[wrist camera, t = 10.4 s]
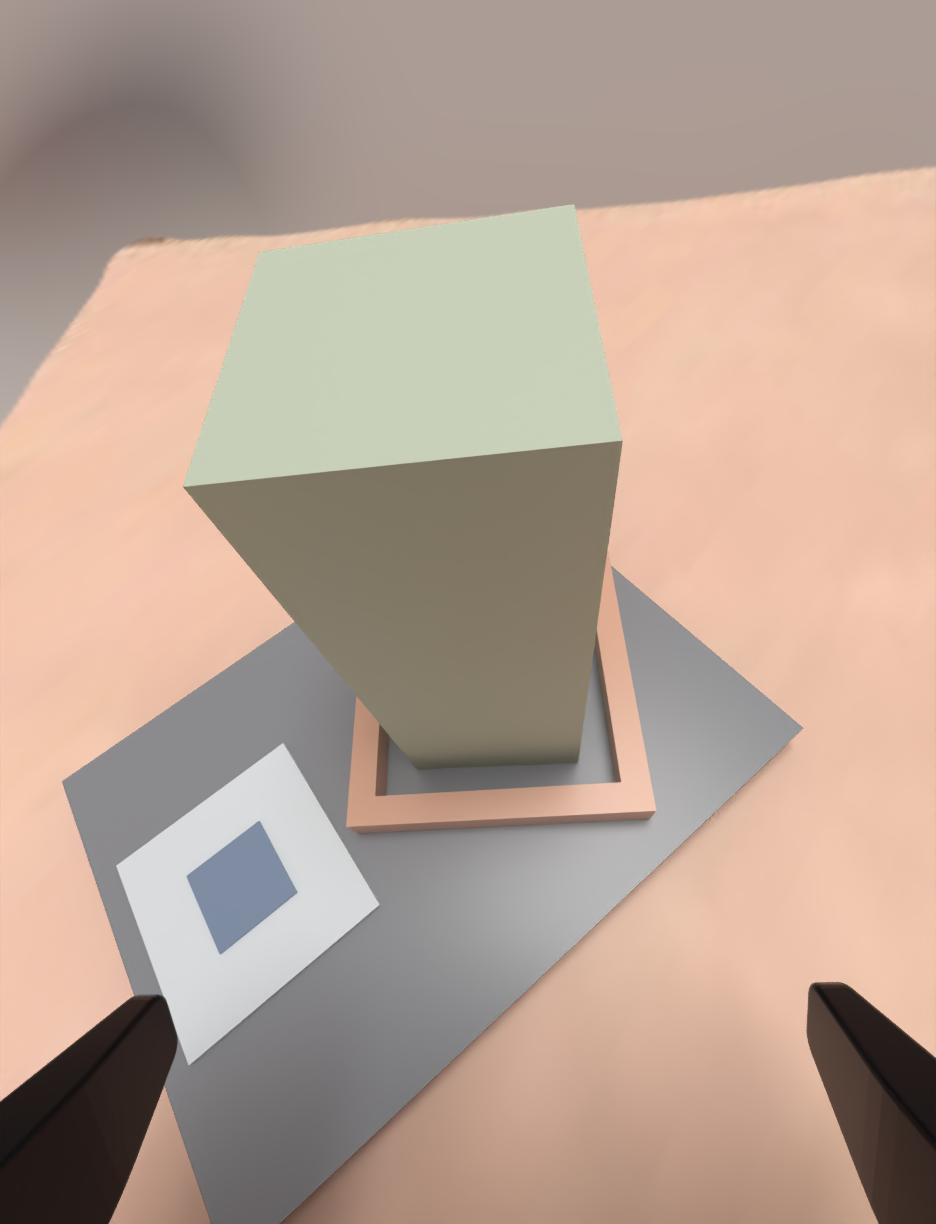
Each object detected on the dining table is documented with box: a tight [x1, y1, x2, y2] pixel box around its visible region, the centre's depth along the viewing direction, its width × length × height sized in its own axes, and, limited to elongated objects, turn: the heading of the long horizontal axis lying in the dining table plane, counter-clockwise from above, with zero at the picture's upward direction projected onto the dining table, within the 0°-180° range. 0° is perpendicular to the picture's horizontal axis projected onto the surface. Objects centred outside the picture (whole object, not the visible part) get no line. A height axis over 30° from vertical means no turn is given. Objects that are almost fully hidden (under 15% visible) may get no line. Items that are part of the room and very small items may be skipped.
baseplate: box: [62, 566, 803, 1224], centre depth 18 cm, size 20×14×2 cm
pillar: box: [183, 204, 623, 770], centre depth 13 cm, size 5×5×13 cm
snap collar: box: [346, 551, 656, 833], centre depth 18 cm, size 9×9×1 cm
